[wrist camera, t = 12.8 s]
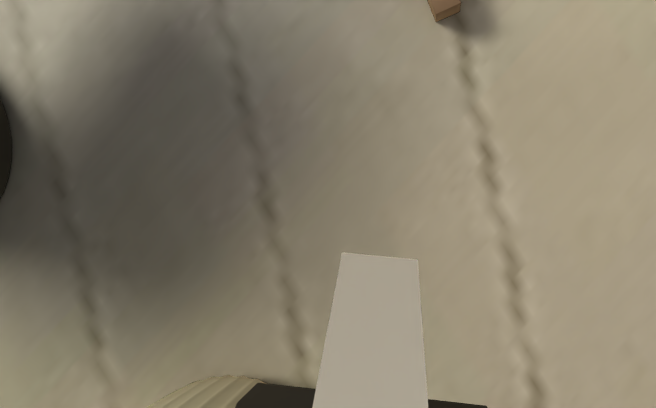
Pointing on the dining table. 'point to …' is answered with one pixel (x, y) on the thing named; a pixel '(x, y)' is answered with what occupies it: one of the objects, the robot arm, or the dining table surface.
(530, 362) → the dining table surface
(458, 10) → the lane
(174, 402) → the canister
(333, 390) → the robot arm
